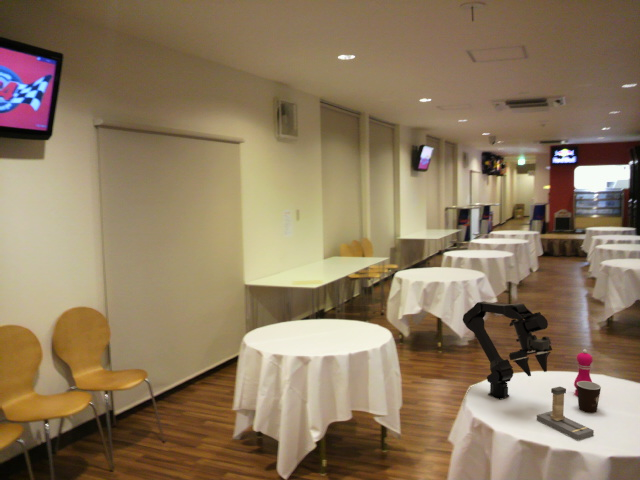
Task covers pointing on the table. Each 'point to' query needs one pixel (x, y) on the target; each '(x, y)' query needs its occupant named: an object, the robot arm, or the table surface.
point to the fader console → (566, 426)
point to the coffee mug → (588, 396)
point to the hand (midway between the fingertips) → (537, 373)
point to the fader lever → (558, 403)
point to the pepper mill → (583, 368)
